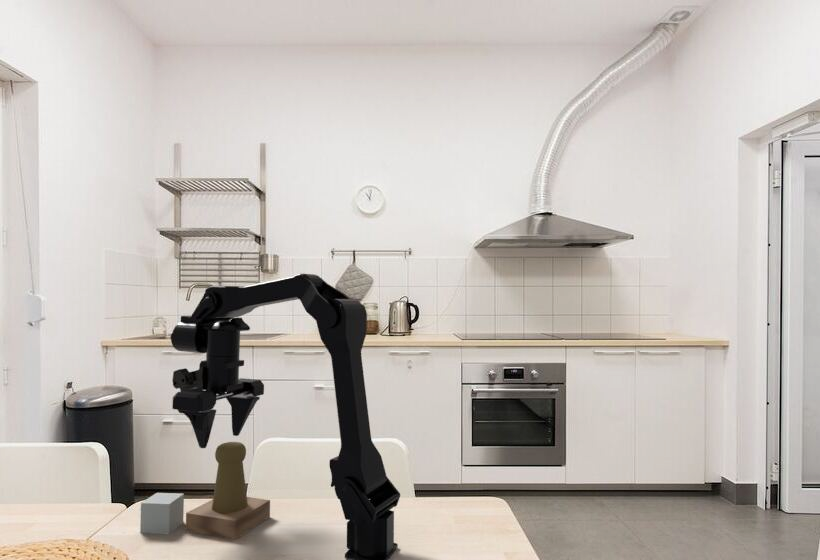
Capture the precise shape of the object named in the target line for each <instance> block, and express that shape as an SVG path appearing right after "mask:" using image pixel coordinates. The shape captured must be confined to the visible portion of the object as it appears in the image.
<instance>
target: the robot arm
mask: <svg viewBox="0 0 820 560" xmlns="http://www.w3.org/2000/svg"><path fill="white" fill-rule="evenodd" d="M296 300H299V301H300V302H301V304H302V306H303V308H304V310H305V312H306V313H307V314H308V315H309V316H311V317H312V318H313V320H315V323H316V325H317V329H318V334H319V337H320V340H321V342H322V343H323V345H324V346H325V349H326V350H327V351H328V353H329V355H330V358H331V366H332V367H331V368H332V375H333V385H334V393H335V403H336V410H337V420H338V421H337V422H338V428H339V429H338V430H339V436H340V437H339V438H340V450H339V452H338V455H337V456H335V457H332V458H331V459H329V465H328V466H329V468H330V469H329V470H330V474H331V483H330V487H331V488H333V487H334V493H335V495H336V497H337V499H338V500H339V502H340V505H341V508H342V512H343V516H344V519H345V520H347V522H346V548H347V551H346V552H345V553H344V558H345V559H349V560H389V558H390V557H391V556H392V554H393V553H394V552H395V551H396V550H397V549H398V546H399V544H398V543H397V542H394V541H395V511H394V510H392V509H393V508H396V507H397V506H398V503H399V500H400V497H401V493H400V492H399V490H398V489H397V488H396V486H395V485H394V484H393V482H392V481H391V480H390V479H389V478H388V476H387V472H386V468H385V465H384V461H383V458H382V455H381V453H380V452H379V450H378V448H377V447H376V446H375V444H374V443H373V440H372V439H373V438H372V436H371V434H372V433H371V425H370V419H369V410H368V401H367V400H368V399H367V392H366V383H365V376H364V367H363V358H362V351H363V350H362V349H363V346H364V342H365V339H366V335H367V328H368V327H367V323H368V313H367V309H366V307H365V305H364V304H363V303H361V302H360V301H359V300H357V299H355V298H350V297H349V296H348V295H346V293H343V292H342V291H340V290H339V289H337V288H336V287H334V286H332V285H330V284H329V283H327V281H325V280H324V279H323V278H322V277H320V276H319V275H317V274H311V273H298V274H296V275H294V276H290V277H285V278H280V279H275V280H270V281H265V282H260V283H255V284H250V285H245V286H235V285H233V286H232V285H231V286H230V285H211V286H208V287H206V289H205V292H204V293H203V296H202V298H201V299H200V301H199V302H198V304H197V306H196V308H195V309H194V310H193V312H192V314H191V315H181V316H180V322H178V323H177V324H176V325H175V326H174V328H173V330H172V332H171V334H170V342H171V345H172V347H173V348H174V349H175V350H177V351H178V352H184V353H185V352H187V353H196V354H206V356H205V358H206V359H205V360H201V361H200V363H199V367H198V369H197V370H193V371H189V370H188V368H180V369H177V370H173V374H172V386H173V388H174V389H176V390H177V389H179V391H178V392H175V394H174V395H173V396H172V408H171V409H172V410H176V411H177V412H178V413H179V414H183V415H185V416H186V417H187V418H188V419H189V421H190V424H191V426H192V429H193V432H194V434H195V438H196V441H197V444H198V447H199V448H200V449H206V448H207V446H208V443H209V440H210V438H211V432H212V429H213V425H214V421H215V417H216V414H217V409H214V407H215V406H216V404H217V401H220V400H223V399H226V401H228V404H229V405H230V408H231V409H230V410H231V428H232V429H231V430H232V435H233V437H238V436H239V435H240V433H241V432H242V431H243V427H244V426H245V423H246V422H247V419H248V418H249V416H250V414H251V412H252V410H253V409H254V407H255V405H256V404H257V402H258V401H260V398H261V397H260V396H262V395H264V394H265V384H264V383H263V381H262V380H261V379H256V378H255V379H254V378H253V379H252V378H242V377H241V378H240V377H239V375H240V372H239V371H240V367H243V366H245V360H244V359H240V349H241V348H240V346H241V345H240V343H241V332H245V331H250V330H251V327H250V326H249V324H247V323H246V322H245V321H244V319H243V318H242V316H244V315H247V314H248V313H251V312H252V311H253V310H255V309H257V308H260V307H264V306H268V305H269V306H270V305H273V304H280V303H284V302H290V301H296Z"/></svg>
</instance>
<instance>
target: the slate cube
mask: <svg viewBox="0 0 820 560" xmlns="http://www.w3.org/2000/svg"><path fill="white" fill-rule="evenodd" d="M184 500H185V493H171V492H156V493H154V494H152V495H151V496H150V497H148V498H147V499H145V500H143V501H141V503H140V524H139V525H140V531H139V533H141V534H162V535H163V534H164V535H165V534H166V535H167V534H168V535H169V534H171V533H173V531H174V530H175V529H177V528H178V527H179V526H180V525H182V524H183V523H184V513H185V512H184V507H185V505H184V503H185V501H184Z"/></svg>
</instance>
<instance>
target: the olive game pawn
mask: <svg viewBox="0 0 820 560" xmlns="http://www.w3.org/2000/svg"><path fill="white" fill-rule="evenodd" d="M246 455H247V449H246V446H245V444H243V443H242V442H239V441H227V442H224V443H221V444H219V445H218V446H217V447H216V450H215V453H214V456H215V461H216V462H217V463H218V465H217V471H216V477H215V484H214V485H215V486H214V492H213V498H212V500H213V503H212V510H213V511H215V512H219V513H231V512H236V511H240V510H242V509H244V508H246V507H247V506H248V503H247V497H248V495H247V488H246V478H245V477H246V476H245V470H244V460H245V459H246Z"/></svg>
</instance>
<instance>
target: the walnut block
mask: <svg viewBox="0 0 820 560" xmlns="http://www.w3.org/2000/svg"><path fill="white" fill-rule="evenodd" d="M212 503H213V499H211V500H209V501H207V502H205V503H203V504H201V505H199V506H196V507H195V508H193V509H191V510H189V511H187V512H186V513H185V532H191V533H196V534H202V535H207V536H213V537H218V538H224V539H225V538H226V539H231V540H237V539H238V538H240V537H242V535H245V534H246V533H248V532H249V531H251V530H253V529H254V528H255V527H256V526H258V525H260V524H261V523H264V521H266V520H267V519H269V518H270V517H271V500H270V499H266V498H257V497H251V496H250V497H249V496H247V503H248V506H247V507H246V508H244V509H242V510H240V511H236V512H231V513H219V512H215V511H213V510H212Z"/></svg>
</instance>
